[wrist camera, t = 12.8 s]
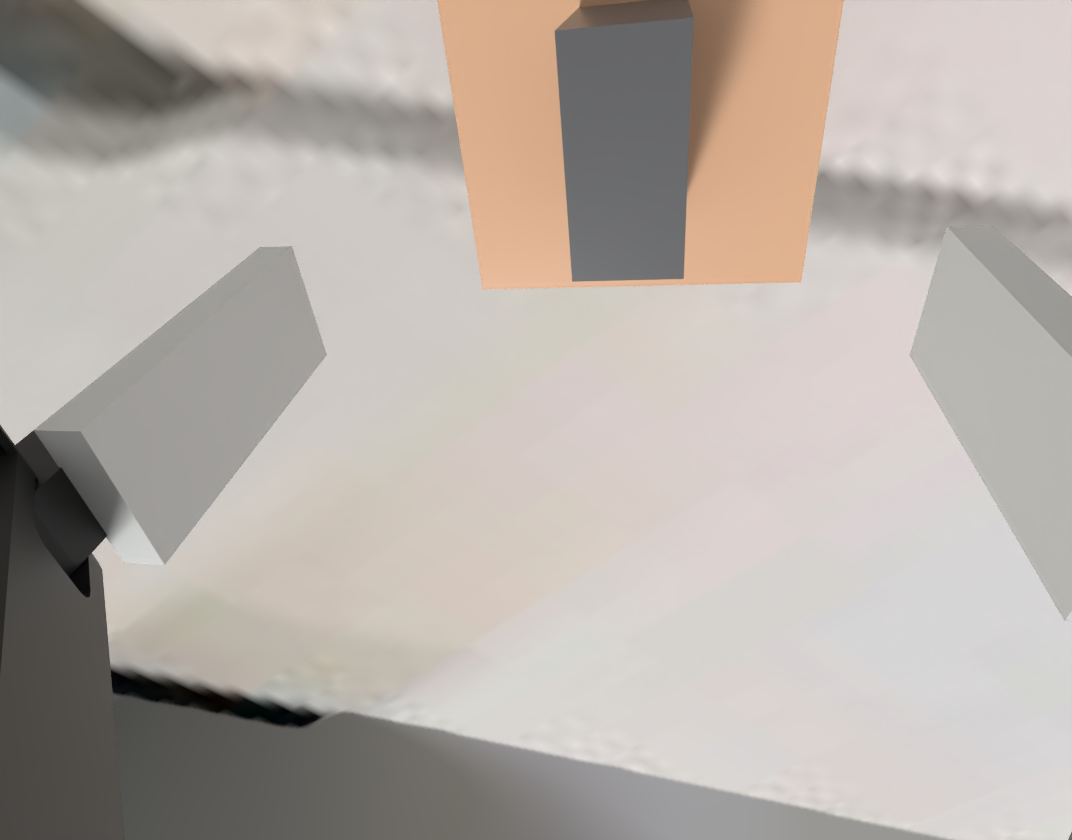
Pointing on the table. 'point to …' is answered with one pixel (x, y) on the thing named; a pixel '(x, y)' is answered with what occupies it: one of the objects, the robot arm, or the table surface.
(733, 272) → the lid
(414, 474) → the table surface
